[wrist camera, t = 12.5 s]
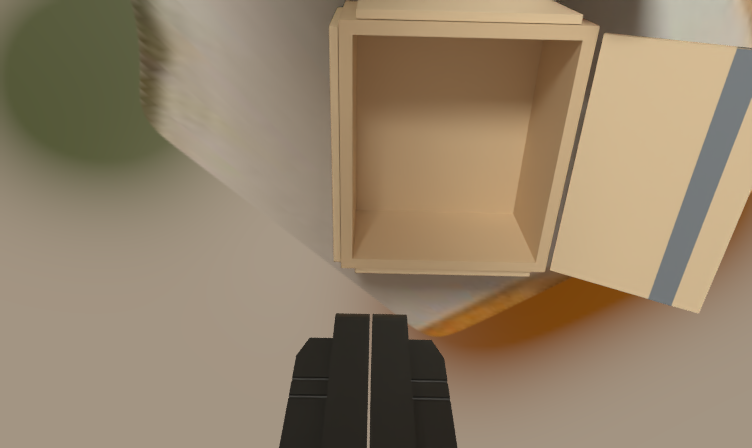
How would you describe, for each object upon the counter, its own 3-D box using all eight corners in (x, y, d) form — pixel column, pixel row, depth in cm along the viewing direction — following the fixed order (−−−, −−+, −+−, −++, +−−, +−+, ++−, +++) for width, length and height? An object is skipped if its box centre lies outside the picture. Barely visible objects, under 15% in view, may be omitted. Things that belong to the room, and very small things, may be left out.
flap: (603, 34, 30) (808, 55, 26) (605, 32, 30) (806, 53, 26) (549, 270, 38) (698, 313, 34) (551, 266, 38) (698, 309, 34)
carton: (337, -9, 36) (328, 8, 29) (559, -3, 36) (602, 15, 30) (340, 219, 45) (333, 273, 39) (518, 223, 46) (543, 278, 39)
